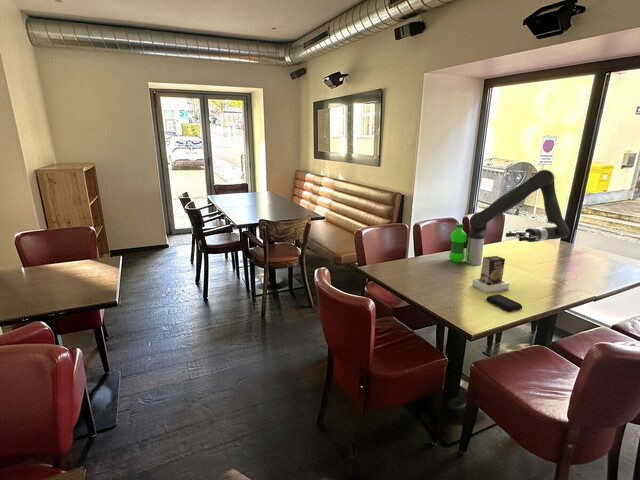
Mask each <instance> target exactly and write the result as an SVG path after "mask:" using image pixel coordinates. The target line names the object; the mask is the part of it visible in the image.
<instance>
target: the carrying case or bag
mask: <svg viewBox="0 0 640 480" xmlns="http://www.w3.org/2000/svg"><path fill="white" fill-rule="evenodd" d="M485 300H486V302H487V303H489V304H491V305H493V306H495V307H497V308H500V309H501V310H503V311H505V312H508V313H511V312H512V313H513V312H515V311H520V310H521V309H523V305H522V304H521V303H519V302H518V301H516V300H513V299H511V298H509V297H507V296H505V295H502V294H500V293H497V294H493V295H489V296H488V295H487V297H486V298H485Z"/></svg>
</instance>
